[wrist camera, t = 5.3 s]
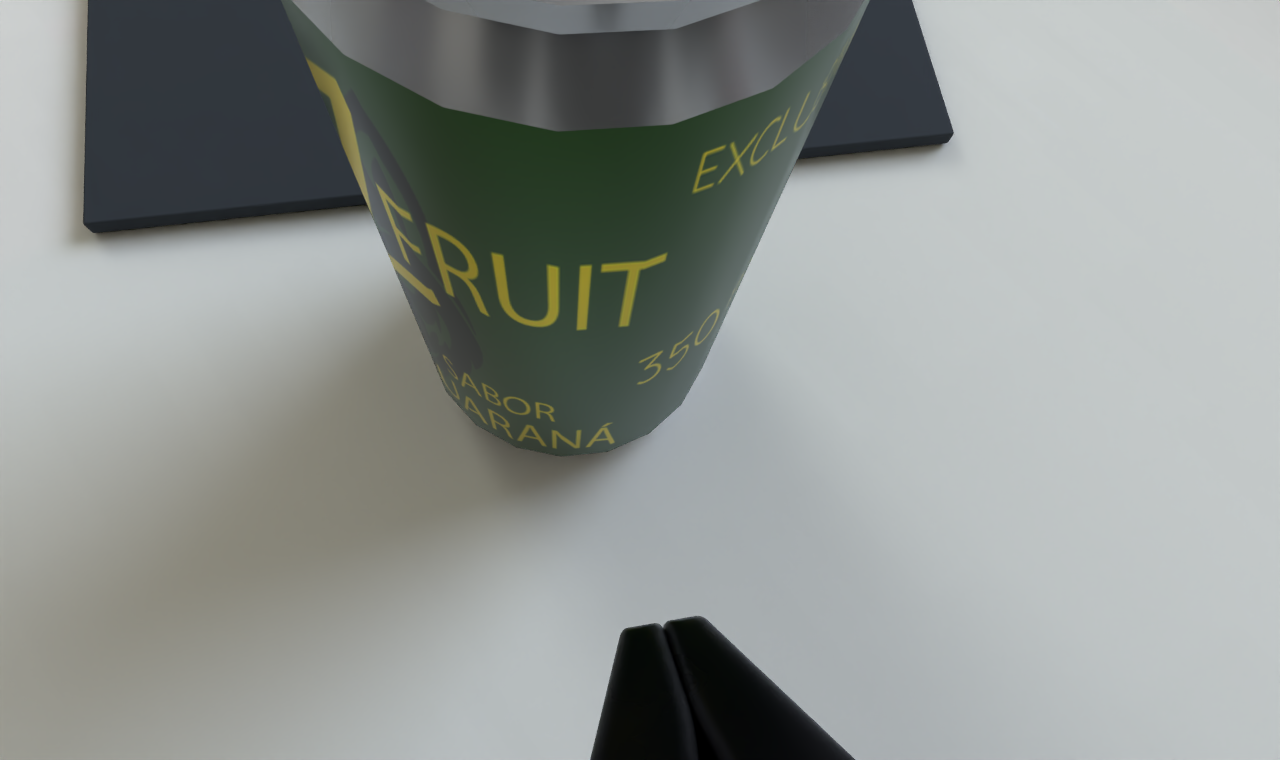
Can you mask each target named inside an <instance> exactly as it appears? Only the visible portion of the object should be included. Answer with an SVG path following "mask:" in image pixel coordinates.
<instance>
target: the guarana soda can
mask: <svg viewBox="0 0 1280 760" xmlns="http://www.w3.org/2000/svg"><path fill="white" fill-rule="evenodd" d="M281 1H282V4H283V6H284V9H285V11H286V13H287V16H288V18H289V20H290V23H291V25H292V28H293V30H294V32H295V35H296V37H297V39H298V42H299V44H300V46H301V49H302V51H303V54H304V56H305V58H306V61H307V63H308V65H309V68H310V70H311V73H312V75H313V77H314V80H315V82H316V84H317V87H318V89H319V91H320V94H321V96H322V99H323V101H324V103H325V106H326V108H327V110H328V113H329V115H330V118H331V120H332V122H333V125H334V127H335V129H336V132H337V134H338V136H339V139H340V141H341V144H342V146H343V148H344V151H345V153H346V155H347V158H348V160H349V163H350V165H351V167H352V170H353V172H354V174H355V177H356V179H357V181H358V184H359V186H360V189H361V191H362V193H363V196H364V198H365V200H366V203H367V205H368V207H369V210H370V212H371V215H372V217H373V219H374V222H375V224H376V226H377V229H378V231H379V234H380V236H381V238H382V241H383V243H384V245H385V248H386V250H387V252H388V255H389V257H390V260H391V262H392V264H393V267H394V269H395V271H396V274H397V276H398V279H399V281H400V283H401V286H402V288H403V290H404V293H405V295H406V297H407V300H408V302H409V305H410V307H411V309H412V312H413V314H414V316H415V319H416V321H417V324H418V326H419V328H420V331H421V333H422V335H423V338H424V340H425V342H426V345H427V347H428V350H429V352H430V354H431V357H432V359H433V361H434V364H435V366H436V368H437V371H438V373H439V376H440V378H441V380H442V383H443V385H444V387H445V390H446V392H447V393H448V394H449V395H450V396H451V397H452V399H453V400H454V401H455V402H456V403H457V404H458V405H459V406H460V407H461V409H462V410H463V411H464V412H465V413H466V414H467V415H468V416H469V417H470V418H471V420H472V421H473V422H474V423H475V424H476V425H478V426H479V427H481V428H483V429H485V430H486V431H488V432H490V433H492V434H494V435H495V436H497V437H499V438H501V439H502V440H504V441H506V442H508V443H510V444H511V445H513V446H515V447H518V448H523V449H528V450H532V451H537V452H542V453H547V454H552V455H557V456H570V455H580V454H590V453H599V452H608V451H610V450H612V449H615V448H617V447H619V446H621V445H624V444H626V443H628V442H631V441H633V440H635V439H637V438H640V437H642V436H644V435H647V434H649V433H650V432H651V431H652V430H653V429H654V428H656V427H657V426H658V425H659V424H660V423H661V422H662V421H663V420H664V419H666V418H667V417H668V416H669V415H670V414H671V413H672V412H673V411H674V410H676V409H677V408H678V407H679V406H680V405H681V404H682V402H683V401H684V399H685V397H686V395H687V393H688V392H689V390H690V388H691V386H692V384H693V383H694V381H695V379H696V377H697V376H698V374H699V372H700V370H701V368H702V366H703V364H704V362H705V360H706V358H707V356H708V353H709V351H710V349H711V347H712V345H713V342H714V340H715V338H716V336H717V334H718V331H719V329H720V327H721V325H722V323H723V320H724V318H725V316H726V314H727V312H728V310H729V307H730V305H731V303H732V301H733V299H734V296H735V294H736V292H737V290H738V288H739V285H740V283H741V281H742V279H743V277H744V275H745V272H746V270H747V268H748V266H749V264H750V261H751V259H752V257H753V255H754V253H755V250H756V248H757V246H758V244H759V242H760V239H761V237H762V235H763V233H764V231H765V229H766V226H767V224H768V222H769V220H770V218H771V215H772V213H773V211H774V209H775V207H776V204H777V202H778V200H779V198H780V196H781V194H782V191H783V189H784V187H785V185H786V183H787V180H788V178H789V176H790V174H791V172H792V169H793V167H794V165H795V163H796V161H797V158H798V156H799V154H800V152H801V150H802V148H803V145H804V143H805V141H806V139H807V137H808V134H809V132H810V130H811V128H812V126H813V123H814V121H815V119H816V117H817V115H818V113H819V110H820V108H821V106H822V104H823V102H824V99H825V97H826V95H827V93H828V91H829V88H830V86H831V84H832V82H833V80H834V77H835V75H836V73H837V71H838V69H839V67H840V64H841V62H842V60H843V58H844V56H845V53H846V51H847V49H848V47H849V45H850V42H851V40H852V38H853V36H854V34H855V32H856V29H857V27H858V25H859V23H860V21H861V18H862V16H863V14H864V12H865V10H866V7H867V5H868V3H869V1H870V0H281Z"/></svg>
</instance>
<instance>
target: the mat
mask: <svg viewBox="0 0 1280 760" xmlns="http://www.w3.org/2000/svg"><path fill="white" fill-rule="evenodd" d="M953 133H954V132H953V129H952V126H951V123H950V119H949V116H948V113H947V110H946V107H945V104H944V100H943V97H942V94H941V91H940V88H939V85H938V81H937V78H936V75H935V72H934V69H933V66H932V62H931V59H930V56H929V53H928V50H927V47H926V43H925V40H924V37H923V34H922V31H921V28H920V24H919V21H918V18H917V15H916V12H915V9H914V5H913V2H912V0H870V1H869V3H868V5H867V7H866V10H865V12H864V14H863V16H862V18H861V21H860V23H859V25H858V27H857V29H856V32H855V34H854V36H853V38H852V40H851V42H850V45H849V47H848V49H847V51H846V53H845V56H844V58H843V60H842V62H841V64H840V67H839V69H838V71H837V73H836V75H835V77H834V80H833V82H832V84H831V86H830V88H829V91H828V93H827V95H826V97H825V99H824V102H823V104H822V106H821V108H820V110H819V113H818V115H817V117H816V119H815V121H814V123H813V126H812V128H811V130H810V132H809V134H808V137H807V139H806V141H805V143H804V145H803V148H802V150H801V152H800V154H799V156H798V158H797V159H800V158H810V157H819V156H829V155H838V154H848V153H857V152H867V151H876V150H886V149H895V148H905V147H914V146H923V145H933V144H942V143H947V142H948V141H949V140H950V138H951V137H952V135H953ZM364 204H367V203H366V200H365V198H364V196H363V193H362V191H361V189H360V186H359V184H358V181H357V179H356V177H355V174H354V172H353V170H352V167H351V165H350V163H349V160H348V158H347V155H346V153H345V151H344V148H343V146H342V144H341V141H340V139H339V136H338V134H337V132H336V129H335V127H334V125H333V122H332V120H331V118H330V115H329V113H328V110H327V108H326V106H325V103H324V101H323V99H322V96H321V94H320V91H319V89H318V87H317V84H316V82H315V80H314V77H313V75H312V73H311V70H310V68H309V65H308V63H307V61H306V58H305V56H304V54H303V51H302V49H301V46H300V44H299V42H298V39H297V37H296V35H295V32H294V30H293V28H292V25H291V23H290V20H289V18H288V16H287V13H286V11H285V9H284V6H283V4H282V1H281V0H88V26H87V73H86V120H85V166H84V213H83V224H84V225H85V226H86V227H87V228H88V229H89V230H90V231H91V232H93V233H98V232H108V231H117V230H127V229H136V228H146V227H155V226H165V225H174V224H184V223H193V222H203V221H212V220H221V219H231V218H240V217H250V216H259V215H269V214H278V213H288V212H297V211H307V210H316V209H326V208H335V207H345V206H354V205H364Z"/></svg>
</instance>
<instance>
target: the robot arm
mask: <svg viewBox="0 0 1280 760" xmlns="http://www.w3.org/2000/svg"><path fill="white" fill-rule="evenodd" d="M590 760H855V759H854V758H853V757H852V756H851V755H850V754H849V753H848V752H847V751H845V750H844V749H843V748H842V747H841V746H840V745H839V744H838V743H837V742H836V741H835V740H834V739H833V738H832V737H831V736H830V735H828V734H827V733H826V732H825V731H824V730H823V729H822V728H821V727H820V726H819V725H818V724H817V723H816V722H815V721H814V720H813V719H812V718H810V717H809V716H808V715H807V714H806V713H805V712H804V711H803V710H802V709H801V708H800V707H799V706H798V705H797V704H796V703H795V702H794V701H792V700H791V699H790V698H789V697H788V696H787V695H786V694H785V693H784V692H783V691H782V690H781V689H780V688H779V687H778V686H777V685H775V684H774V683H773V682H772V681H771V680H770V679H769V678H768V677H767V676H766V675H765V674H764V673H763V672H762V671H761V670H760V669H759V668H757V667H756V666H755V665H754V664H753V663H752V662H751V661H750V660H749V659H748V658H747V657H746V656H745V655H744V654H743V653H742V652H741V651H739V650H738V649H737V648H736V647H735V646H734V645H733V644H732V643H731V642H730V641H729V640H728V639H727V638H726V637H725V636H724V635H722V634H721V633H720V632H719V631H718V630H717V629H716V628H715V627H714V626H713V625H712V624H711V623H710V622H709V621H708V620H706V619H705V618H703V617H701V616H694V617H688V618H682V619H676V620H670V621H667V622H666V623H665V624H664V626H663V628H662V626H661V625H660V624H657V623H653V624H647V625H641V626H636V627H630V628H626V629H624V630H623V631H622V633H621V635H620V638H619V642H618V646H617V651H616V655H615V659H614V663H613V667H612V671H611V676H610V680H609V684H608V688H607V692H606V696H605V701H604V705H603V709H602V713H601V717H600V721H599V726H598V730H597V734H596V738H595V742H594V746H593V751H592V755H591V759H590Z"/></svg>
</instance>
